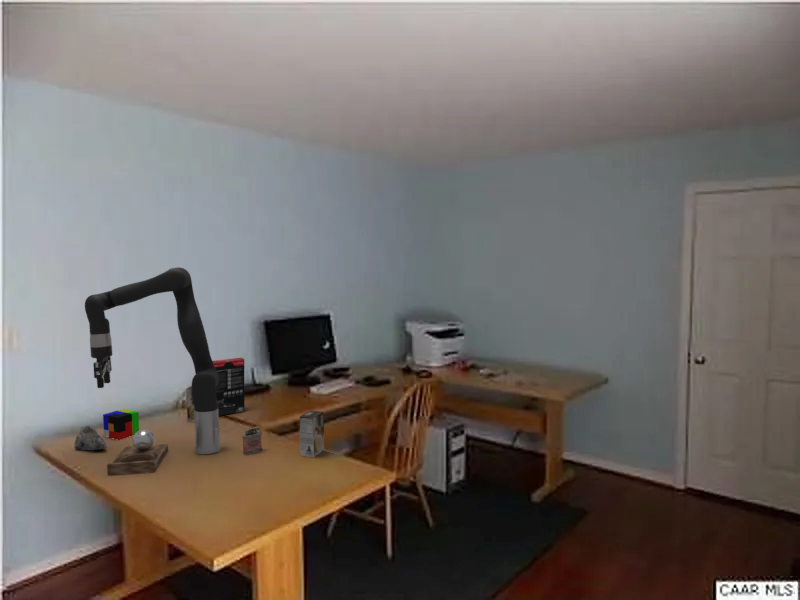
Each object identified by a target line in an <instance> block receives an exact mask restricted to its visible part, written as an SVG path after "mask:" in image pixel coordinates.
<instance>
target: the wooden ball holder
mask: <svg viewBox="0 0 800 600" xmlns="http://www.w3.org/2000/svg"><path fill="white" fill-rule="evenodd" d="M168 451H169V444H168V443H164V444H163V443H162V444H153V445H152V446H151V447H150V448H148V449H146V450H139V449H137V448H135V447H134V445H132V446H131V445H130V446H125V447H124V448H123V449H122V450H121V452H119V454H118V455H117V457H116V458H115V459H114V460H113V461H112V463H107V465H106V469H107V470H106V471H107V476H117V475H119V476H120V475H121V476H122V475H132V474H133V475H134V473H135V474H147V473H146V472H150V473H155V472H156V471H155V470H157V468H159V465H160V464H161V463H162V460H164V458H165V456H166V454H167V452H168Z"/></svg>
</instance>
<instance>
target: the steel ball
mask: <svg viewBox="0 0 800 600" xmlns="http://www.w3.org/2000/svg"><path fill="white" fill-rule="evenodd" d="M131 442H132V446H134V447H135V448H137V449H139V450H146V449H148V448H150V447H151V446H152V445H154V443H155V434H154V432H152V431H151V430H149V429H145V428H143V429H139V431H137V432H136V433H135V434H134V436H132V441H131Z"/></svg>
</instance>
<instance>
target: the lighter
mask: <svg viewBox="0 0 800 600" xmlns="http://www.w3.org/2000/svg"><path fill="white" fill-rule="evenodd" d="M260 430H261V427H260V426H255V427H248V428H247V429H245V430H244V432H245V434H242V435H241V436H242V449H243V450H242V455H243V454H248V455H252V453H253V454H257V453H260V452H262V451H263V447H262V443H263V442H262V435H263V434H262V433H263V432H262V431H260ZM256 452H257V453H256Z"/></svg>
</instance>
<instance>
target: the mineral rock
mask: <svg viewBox="0 0 800 600" xmlns="http://www.w3.org/2000/svg"><path fill="white" fill-rule="evenodd" d="M107 447H108V446H107V444H106V441H105V439H104V437H102V436H101V435H100V434H98V431H96V429H95V428H94V427H91V426H90V425H86V426H81V427H80V429H79V430H78V432H77V435H76V437H75V441H74V449H76V450H81V451H96V450H99V451H100V450H103V449H107Z"/></svg>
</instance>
